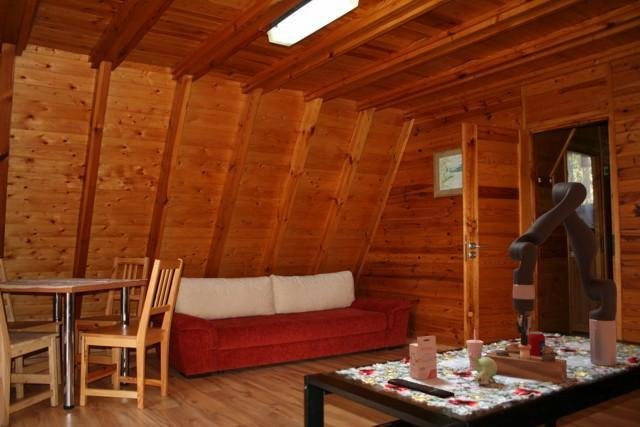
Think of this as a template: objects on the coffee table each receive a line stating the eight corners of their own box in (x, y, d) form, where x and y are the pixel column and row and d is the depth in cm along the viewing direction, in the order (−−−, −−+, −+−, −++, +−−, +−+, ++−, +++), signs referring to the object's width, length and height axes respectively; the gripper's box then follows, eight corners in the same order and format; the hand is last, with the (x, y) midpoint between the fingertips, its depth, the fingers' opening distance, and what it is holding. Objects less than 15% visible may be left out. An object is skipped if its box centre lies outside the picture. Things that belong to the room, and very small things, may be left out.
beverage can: (547, 365, 208) (546, 334, 208) (529, 364, 209) (528, 333, 210) (543, 361, 214) (543, 331, 215) (525, 360, 216) (525, 330, 216)
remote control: (443, 400, 163) (443, 395, 164) (386, 384, 182) (386, 380, 182) (454, 397, 167) (454, 392, 167) (396, 381, 185) (396, 377, 185)
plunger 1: (498, 368, 201) (498, 349, 201) (510, 369, 198) (510, 350, 198) (494, 370, 197) (494, 351, 197) (507, 372, 194) (506, 352, 195)
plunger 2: (543, 374, 192) (543, 354, 192) (556, 376, 189) (556, 356, 189) (540, 376, 188) (540, 356, 188) (554, 378, 185) (553, 358, 186)
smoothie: (484, 365, 207) (484, 329, 208) (482, 369, 201) (481, 331, 202) (467, 364, 210) (467, 328, 210) (465, 367, 204) (464, 330, 205)
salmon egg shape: (520, 362, 196) (519, 343, 197) (532, 364, 194) (532, 345, 194) (517, 365, 193) (516, 345, 193) (529, 366, 190) (529, 346, 190)
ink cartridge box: (428, 374, 194) (427, 333, 195) (437, 377, 189) (436, 335, 190) (409, 377, 190) (408, 335, 191) (417, 380, 185) (417, 337, 186)
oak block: (493, 367, 204) (492, 351, 205) (566, 376, 190) (566, 359, 190) (484, 372, 196) (484, 355, 197) (561, 383, 182) (561, 365, 182)
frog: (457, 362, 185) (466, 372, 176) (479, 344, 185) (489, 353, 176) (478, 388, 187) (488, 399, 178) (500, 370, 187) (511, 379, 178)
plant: (558, 351, 235) (557, 326, 236) (551, 360, 219) (550, 332, 219) (511, 347, 246) (510, 322, 246) (501, 354, 229) (500, 328, 230)
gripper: (530, 299, 187) (531, 349, 186) (538, 296, 198) (539, 343, 197) (508, 298, 191) (509, 347, 190) (517, 295, 202) (518, 341, 201)
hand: (524, 345), depth 193 cm, fingers closed
